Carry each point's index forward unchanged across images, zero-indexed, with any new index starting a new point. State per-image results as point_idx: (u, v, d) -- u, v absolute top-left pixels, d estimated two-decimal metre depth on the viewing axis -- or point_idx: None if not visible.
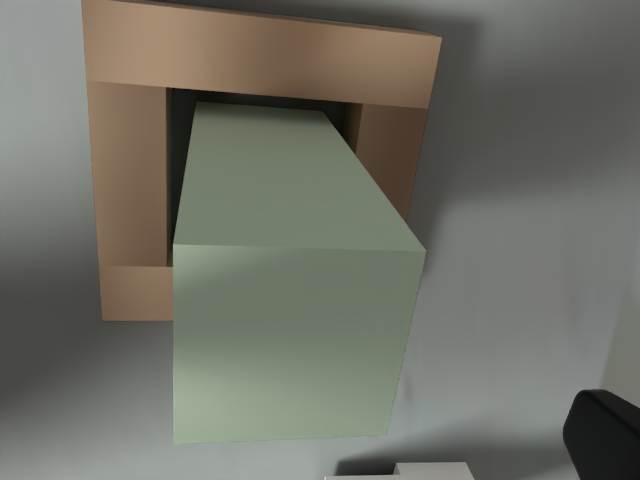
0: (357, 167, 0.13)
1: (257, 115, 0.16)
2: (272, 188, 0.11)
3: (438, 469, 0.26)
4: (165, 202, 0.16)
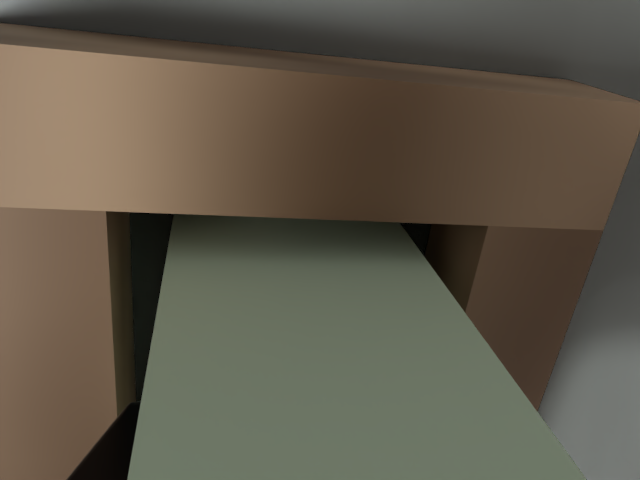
0: (552, 453, 0.05)
1: (286, 242, 0.09)
2: None
3: None
4: (114, 406, 0.09)
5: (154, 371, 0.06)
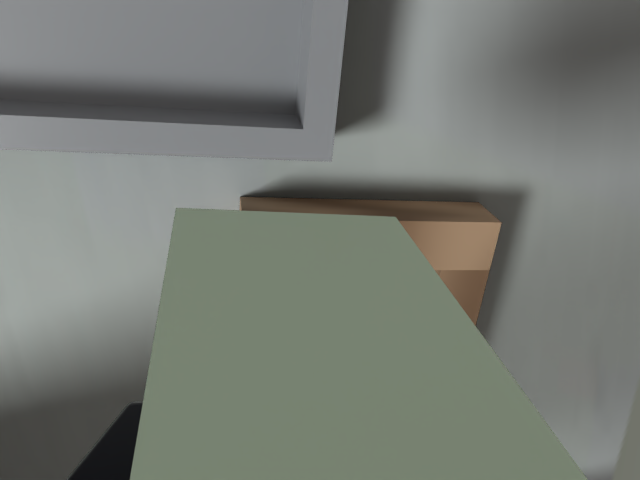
0: (554, 453, 0.05)
1: (287, 243, 0.09)
2: None
3: None
4: None
5: (156, 372, 0.06)
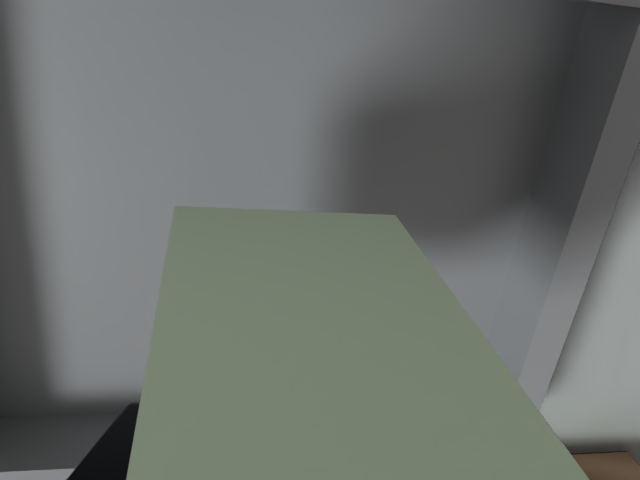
0: (554, 451, 0.05)
1: (286, 241, 0.09)
2: None
3: None
4: None
5: (154, 369, 0.06)
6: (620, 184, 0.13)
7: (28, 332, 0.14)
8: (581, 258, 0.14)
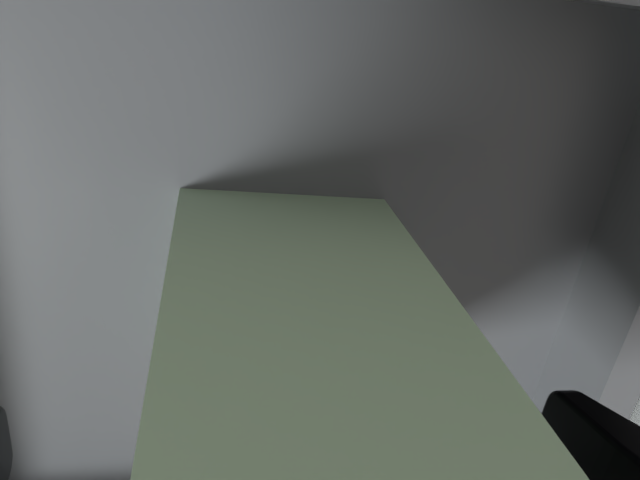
0: (513, 393, 0.06)
1: (283, 220, 0.09)
2: None
3: None
4: None
5: (164, 321, 0.06)
6: None
7: None
8: None
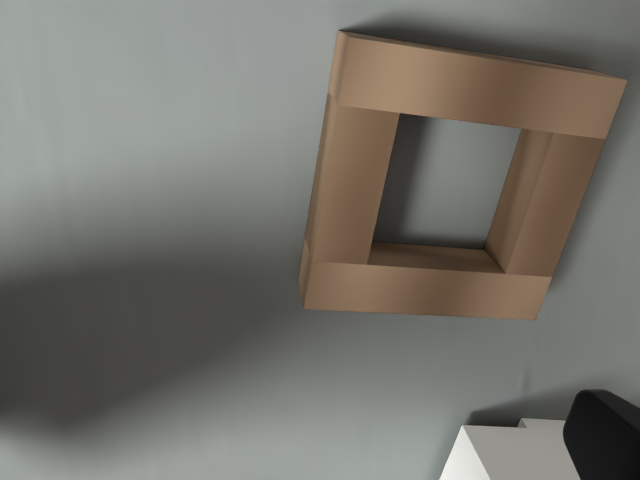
0: None
1: None
2: None
3: (559, 426, 0.28)
4: (378, 209, 0.19)
5: None
6: None
7: None
8: None
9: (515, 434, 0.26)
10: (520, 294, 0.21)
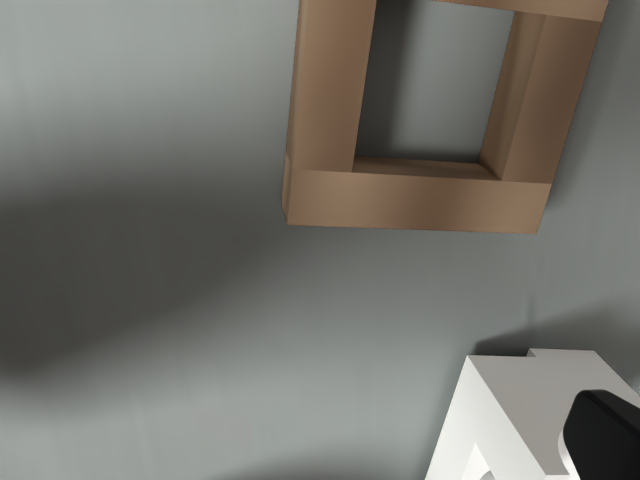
0: None
1: None
2: None
3: (570, 355, 0.26)
4: (360, 107, 0.17)
5: None
6: None
7: None
8: None
9: (524, 362, 0.25)
10: (518, 204, 0.20)
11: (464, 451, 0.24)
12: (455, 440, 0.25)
